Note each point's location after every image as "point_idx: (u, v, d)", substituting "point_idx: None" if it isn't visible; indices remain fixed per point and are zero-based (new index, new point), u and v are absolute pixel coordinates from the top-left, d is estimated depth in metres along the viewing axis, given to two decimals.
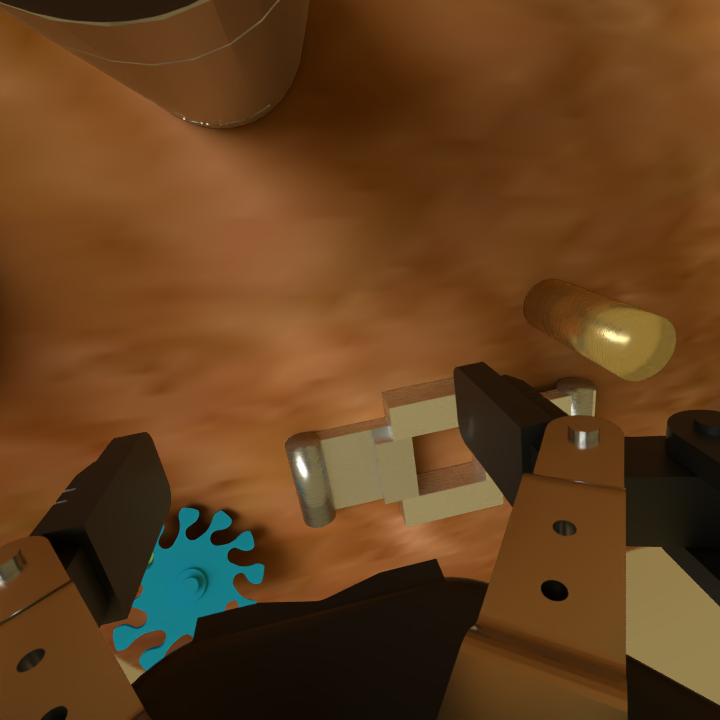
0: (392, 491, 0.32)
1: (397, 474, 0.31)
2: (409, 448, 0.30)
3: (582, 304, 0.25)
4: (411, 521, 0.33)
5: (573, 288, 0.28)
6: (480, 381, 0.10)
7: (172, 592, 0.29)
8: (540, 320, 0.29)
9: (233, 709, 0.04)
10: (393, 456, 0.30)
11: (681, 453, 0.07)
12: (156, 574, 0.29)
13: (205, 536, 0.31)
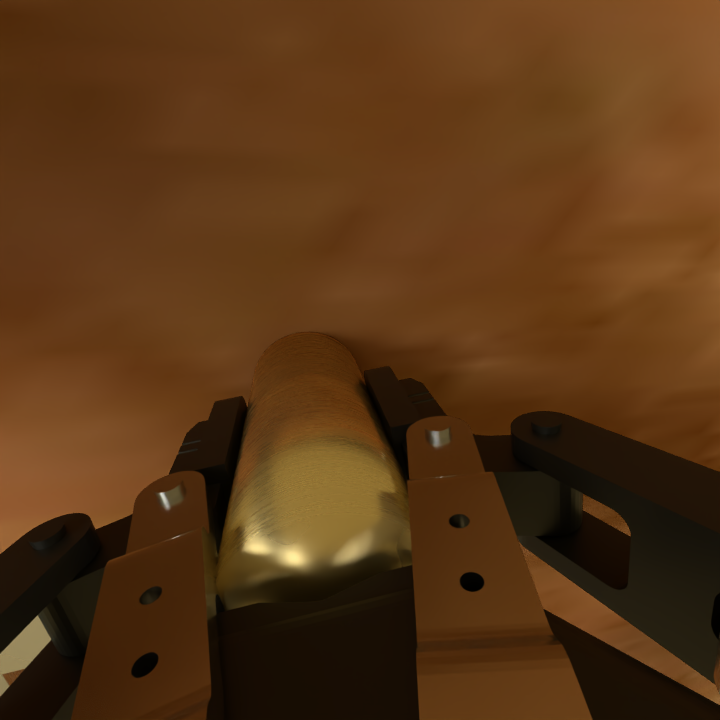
0: None
1: None
2: None
3: (262, 417, 0.09)
4: None
5: (300, 362, 0.12)
6: (377, 384, 0.11)
7: None
8: None
9: (233, 709, 0.04)
10: None
11: (529, 456, 0.08)
12: None
13: None
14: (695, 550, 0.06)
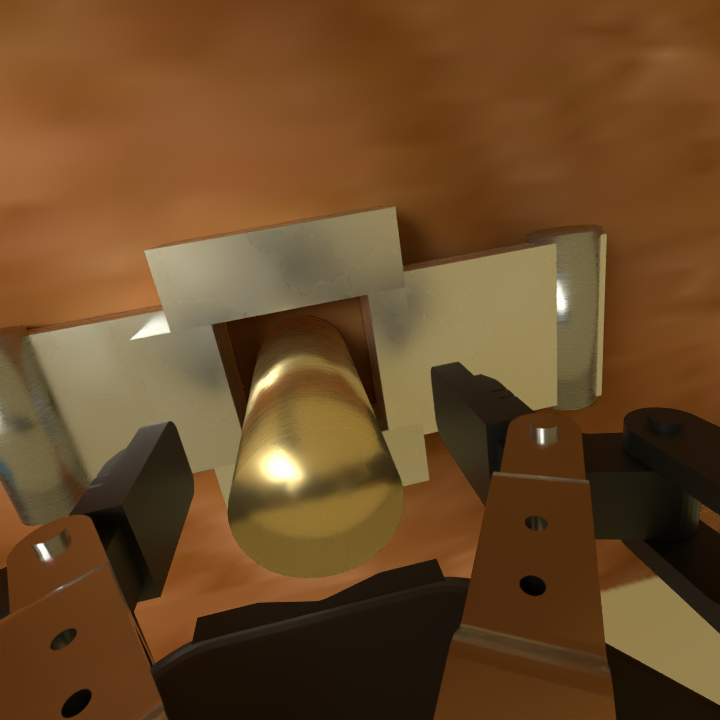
0: (188, 449, 0.15)
1: (193, 410, 0.15)
2: (210, 351, 0.14)
3: (266, 378, 0.12)
4: None
5: (297, 338, 0.14)
6: (453, 380, 0.11)
7: None
8: None
9: (233, 709, 0.04)
10: (176, 369, 0.14)
11: (639, 451, 0.07)
12: None
13: None
14: None
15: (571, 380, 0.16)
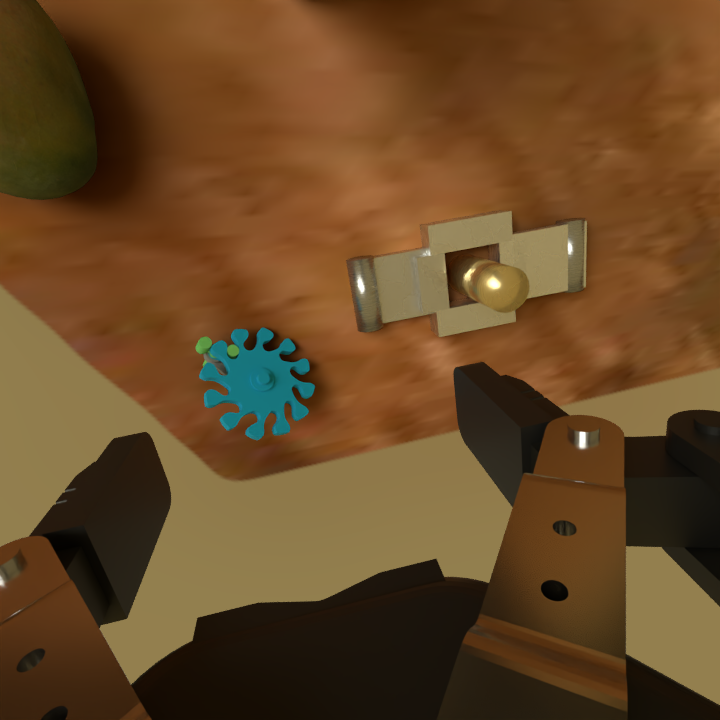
0: (428, 302, 0.40)
1: (433, 286, 0.40)
2: (442, 263, 0.39)
3: (475, 265, 0.37)
4: (443, 332, 0.41)
5: (474, 257, 0.39)
6: (480, 381, 0.10)
7: (249, 380, 0.38)
8: (454, 281, 0.40)
9: (233, 709, 0.04)
10: (430, 269, 0.39)
11: (681, 453, 0.07)
12: (239, 364, 0.38)
13: (275, 351, 0.40)
14: None
15: (573, 278, 0.41)
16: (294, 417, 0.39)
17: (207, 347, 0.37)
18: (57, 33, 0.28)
